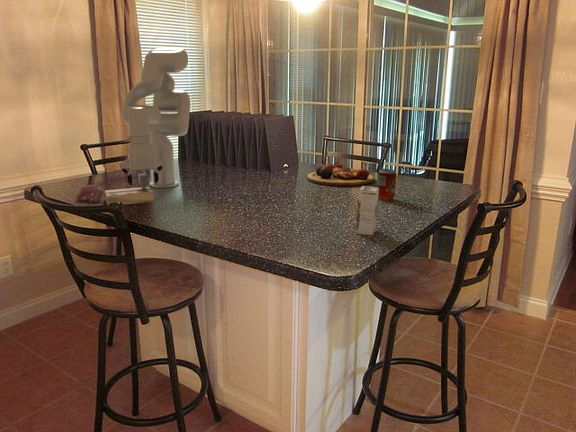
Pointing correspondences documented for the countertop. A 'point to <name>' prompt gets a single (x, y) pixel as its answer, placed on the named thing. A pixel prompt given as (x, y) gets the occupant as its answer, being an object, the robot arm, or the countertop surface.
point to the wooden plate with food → (339, 175)
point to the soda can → (386, 184)
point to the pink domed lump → (87, 192)
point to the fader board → (129, 195)
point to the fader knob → (143, 180)
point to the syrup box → (367, 210)
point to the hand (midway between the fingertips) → (143, 183)
